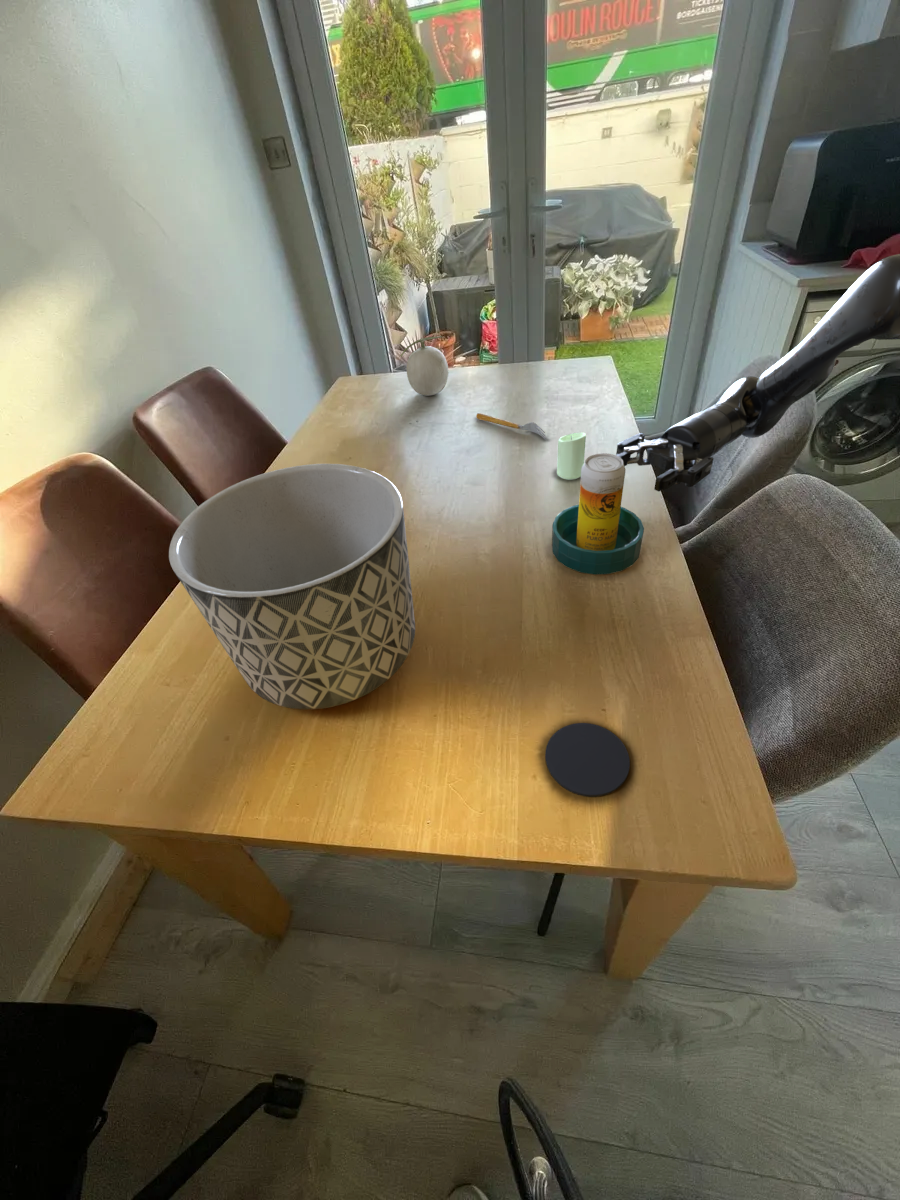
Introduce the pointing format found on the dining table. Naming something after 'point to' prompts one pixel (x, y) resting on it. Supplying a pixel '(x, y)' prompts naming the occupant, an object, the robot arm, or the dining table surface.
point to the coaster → (587, 759)
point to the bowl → (591, 559)
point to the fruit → (427, 369)
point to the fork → (512, 424)
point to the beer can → (600, 502)
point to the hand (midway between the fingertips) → (633, 475)
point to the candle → (571, 455)
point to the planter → (303, 581)
